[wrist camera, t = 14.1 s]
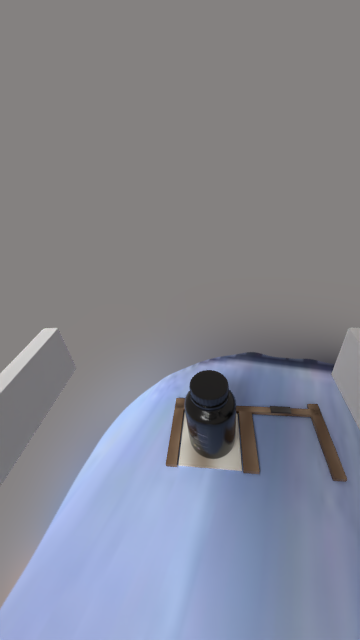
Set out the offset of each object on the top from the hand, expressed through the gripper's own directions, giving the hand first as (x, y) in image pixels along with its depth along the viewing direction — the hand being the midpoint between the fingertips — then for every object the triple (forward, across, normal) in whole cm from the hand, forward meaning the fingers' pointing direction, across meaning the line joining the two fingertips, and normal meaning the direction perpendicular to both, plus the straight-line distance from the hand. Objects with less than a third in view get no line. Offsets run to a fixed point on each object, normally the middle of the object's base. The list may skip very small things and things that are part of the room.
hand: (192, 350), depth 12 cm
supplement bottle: (+12, 0, -28) cm, 30 cm away
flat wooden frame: (+12, +6, -28) cm, 31 cm away
